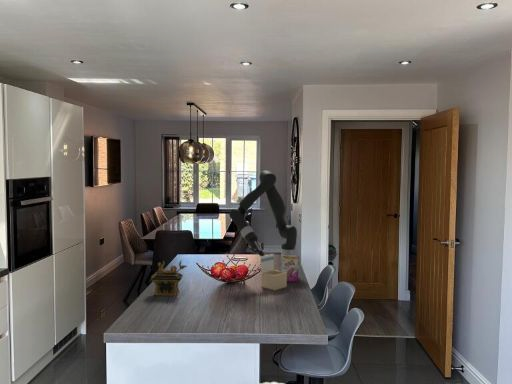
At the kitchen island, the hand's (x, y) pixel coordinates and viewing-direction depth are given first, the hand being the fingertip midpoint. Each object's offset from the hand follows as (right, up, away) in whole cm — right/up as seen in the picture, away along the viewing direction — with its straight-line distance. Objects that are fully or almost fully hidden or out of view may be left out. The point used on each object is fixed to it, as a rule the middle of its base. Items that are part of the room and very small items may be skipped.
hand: (263, 256), depth 292 cm
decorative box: (-54, -18, -24) cm, 62 cm away
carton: (+6, -18, -5) cm, 20 cm away
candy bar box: (+17, -17, +12) cm, 27 cm away
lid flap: (+3, -4, -2) cm, 5 cm away
